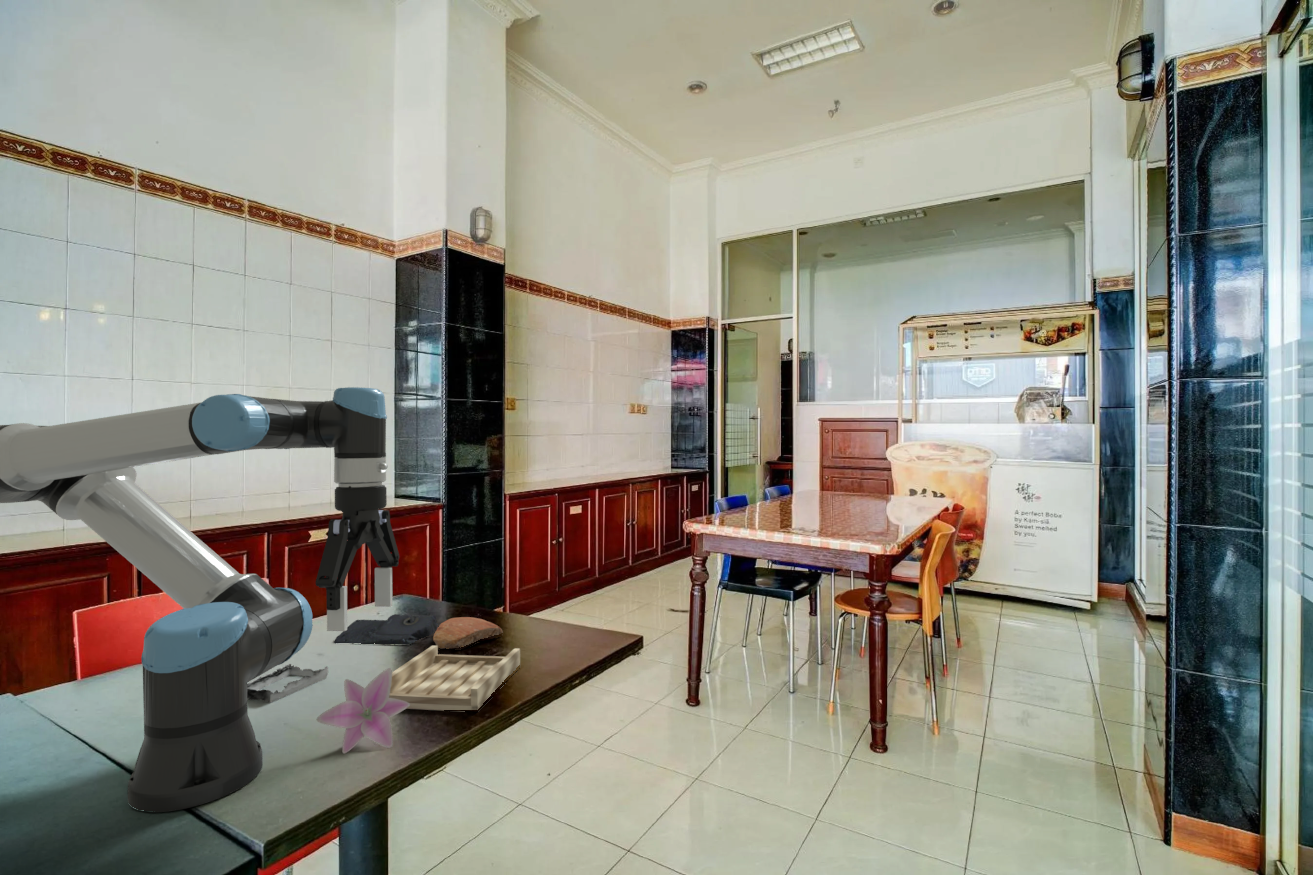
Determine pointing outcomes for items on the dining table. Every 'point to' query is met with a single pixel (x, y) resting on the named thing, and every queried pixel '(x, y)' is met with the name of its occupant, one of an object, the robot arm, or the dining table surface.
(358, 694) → the lily
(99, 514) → the robot arm
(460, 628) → the ceramic shard
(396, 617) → the dark block with eyelet
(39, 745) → the dining table surface
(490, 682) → the drying rack
